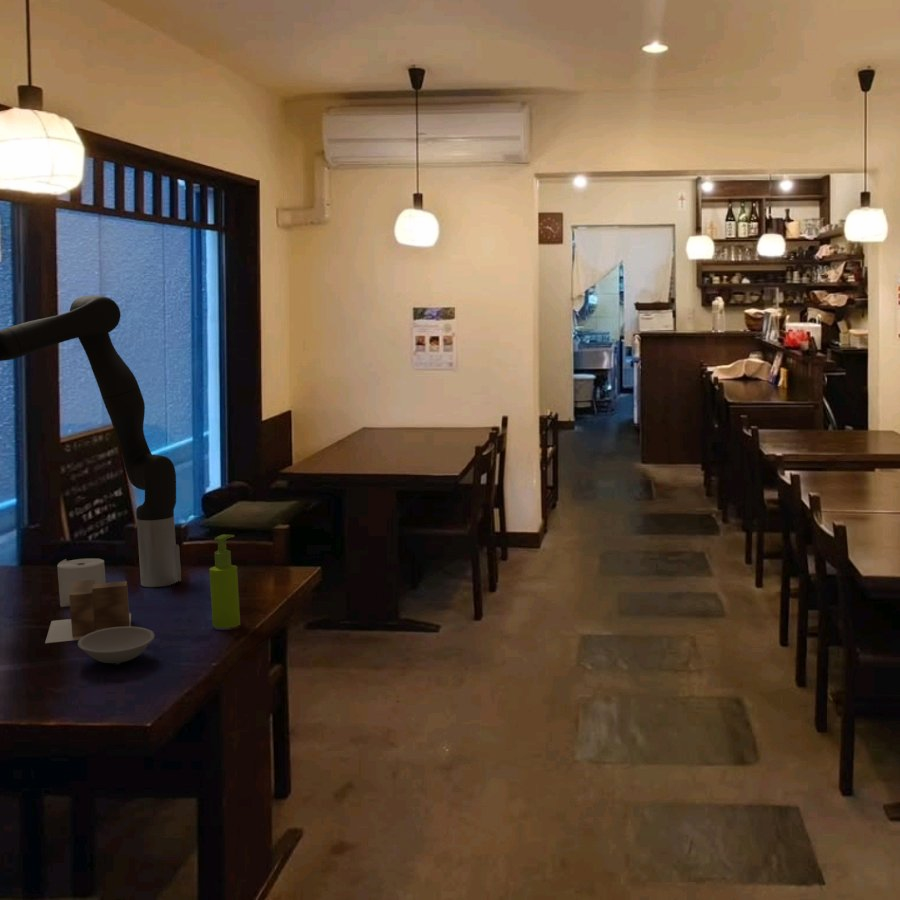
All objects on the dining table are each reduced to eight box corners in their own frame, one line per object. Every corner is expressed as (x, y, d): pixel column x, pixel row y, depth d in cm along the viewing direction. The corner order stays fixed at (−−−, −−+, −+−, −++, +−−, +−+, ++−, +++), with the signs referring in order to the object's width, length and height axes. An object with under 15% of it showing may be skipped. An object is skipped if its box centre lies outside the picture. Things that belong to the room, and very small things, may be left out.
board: (45, 647, 224) (44, 643, 223) (52, 625, 241) (51, 620, 241) (193, 632, 232) (193, 627, 232) (190, 611, 249) (189, 607, 249)
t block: (72, 637, 227) (69, 595, 226) (75, 621, 240) (72, 581, 239) (129, 631, 230) (126, 590, 229) (129, 615, 243) (127, 576, 242)
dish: (158, 671, 206) (157, 646, 205) (79, 681, 201) (77, 655, 201) (153, 646, 222) (151, 622, 222) (79, 655, 218) (77, 631, 217)
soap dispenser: (247, 622, 238) (242, 533, 236) (231, 631, 232) (226, 539, 229) (224, 620, 240) (219, 532, 238) (207, 629, 234) (202, 538, 231)
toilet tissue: (92, 610, 253) (89, 568, 252) (46, 609, 255) (42, 567, 254) (115, 598, 263) (112, 558, 262) (70, 597, 266) (67, 557, 264)
